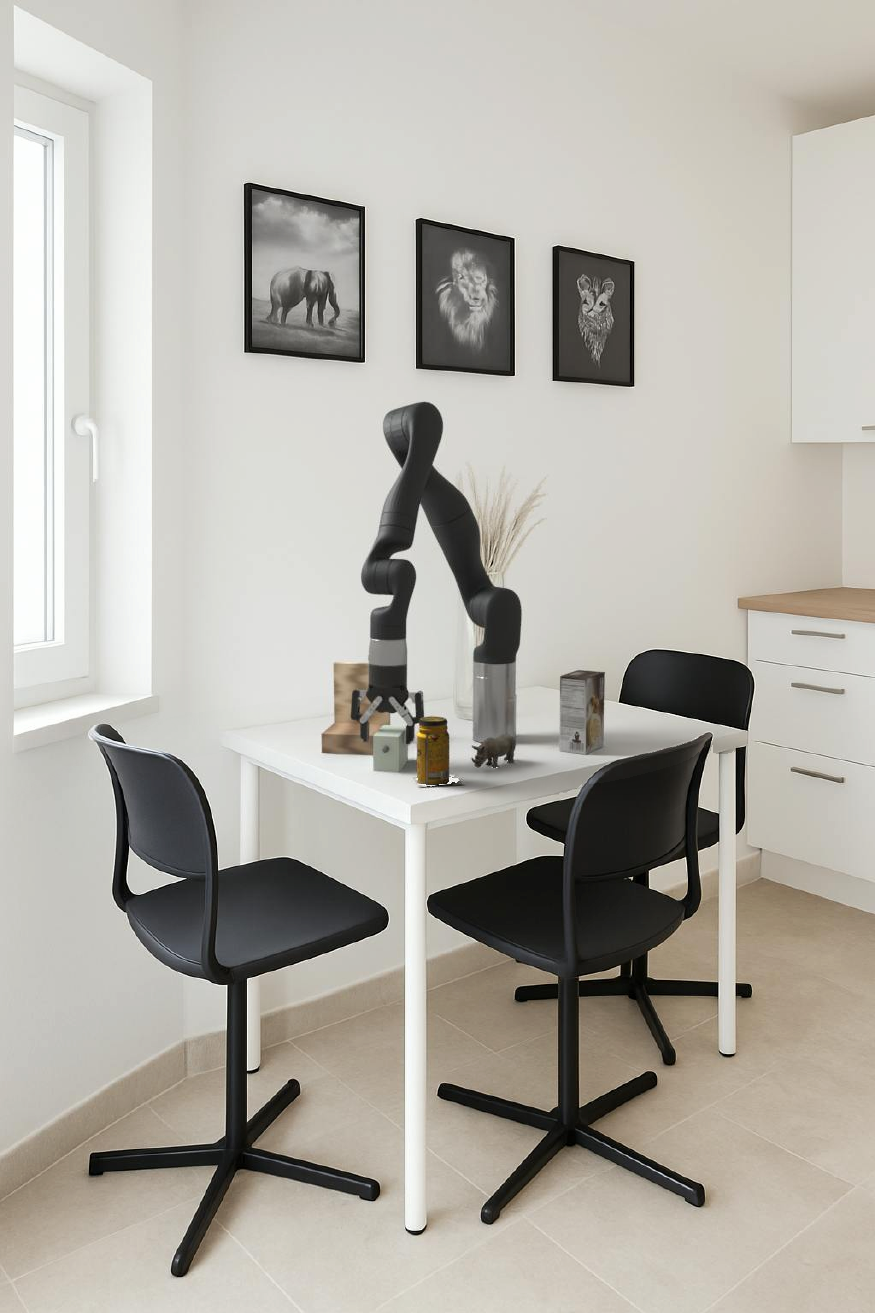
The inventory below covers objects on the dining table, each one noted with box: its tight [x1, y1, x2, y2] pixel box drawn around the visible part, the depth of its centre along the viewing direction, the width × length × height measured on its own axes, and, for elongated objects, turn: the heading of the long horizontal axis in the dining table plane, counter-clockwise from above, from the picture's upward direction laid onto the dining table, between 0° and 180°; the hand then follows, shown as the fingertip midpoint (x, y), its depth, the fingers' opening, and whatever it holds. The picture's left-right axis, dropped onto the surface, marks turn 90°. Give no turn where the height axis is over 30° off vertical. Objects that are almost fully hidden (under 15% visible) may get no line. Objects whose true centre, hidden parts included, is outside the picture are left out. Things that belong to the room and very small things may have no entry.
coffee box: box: [558, 669, 606, 756], centre depth 223 cm, size 9×6×16 cm
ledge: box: [321, 722, 389, 756], centre depth 225 cm, size 12×11×4 cm
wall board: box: [333, 661, 391, 725], centre depth 230 cm, size 12×2×17 cm, turn 82°
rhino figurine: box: [470, 733, 517, 769], centre depth 210 cm, size 4×14×6 cm, turn 140°
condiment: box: [412, 715, 465, 788], centre depth 198 cm, size 7×8×12 cm
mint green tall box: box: [372, 724, 409, 773], centre depth 210 cm, size 5×11×7 cm, turn 172°
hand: (387, 742), depth 210 cm, fingers open, 8 cm apart
